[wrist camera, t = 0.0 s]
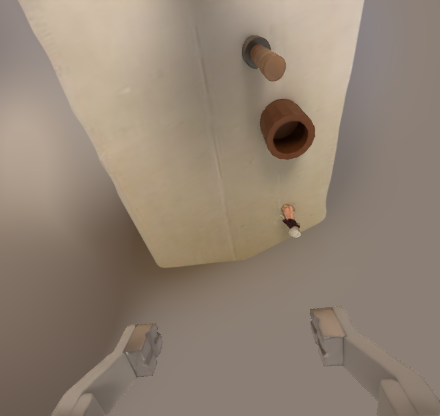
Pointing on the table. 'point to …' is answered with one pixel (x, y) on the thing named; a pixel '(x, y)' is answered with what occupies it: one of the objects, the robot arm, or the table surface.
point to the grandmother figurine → (290, 221)
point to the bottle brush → (263, 58)
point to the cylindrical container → (286, 129)
